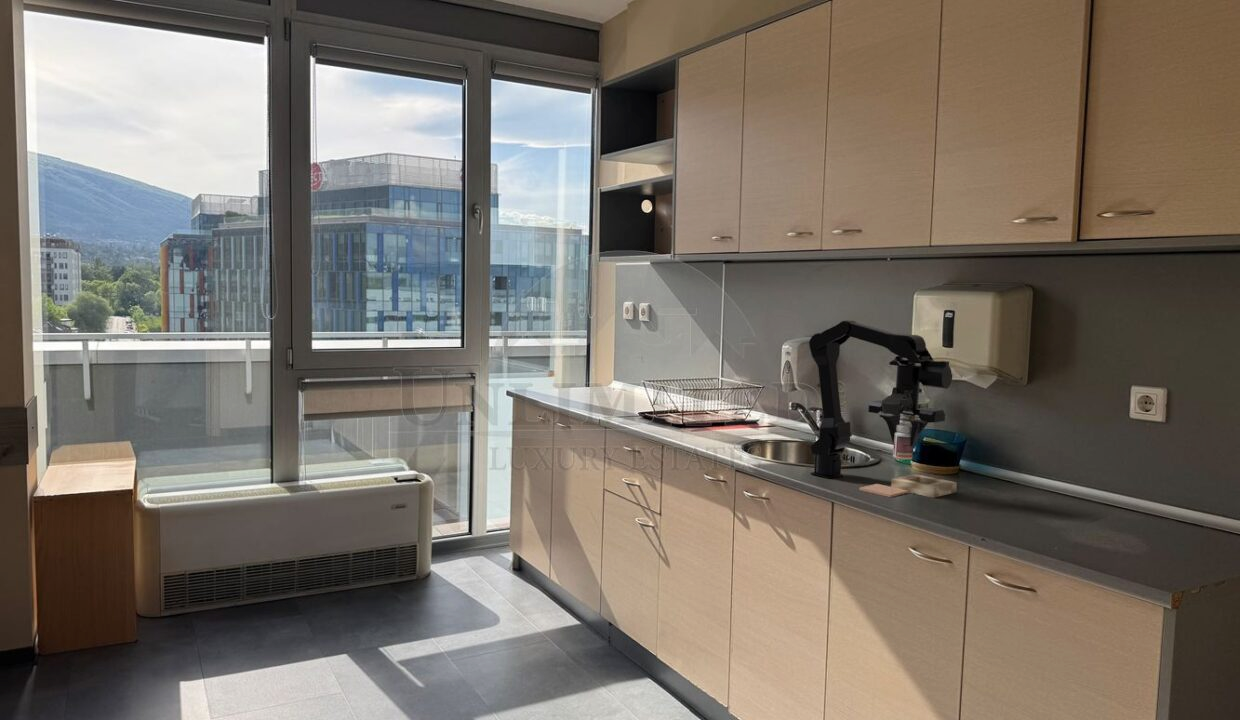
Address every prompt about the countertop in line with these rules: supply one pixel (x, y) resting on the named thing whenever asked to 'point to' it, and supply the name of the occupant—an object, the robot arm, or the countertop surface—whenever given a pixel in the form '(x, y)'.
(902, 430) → the pill bottle
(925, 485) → the frame block
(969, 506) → the countertop surface
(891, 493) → the terracotta tile
